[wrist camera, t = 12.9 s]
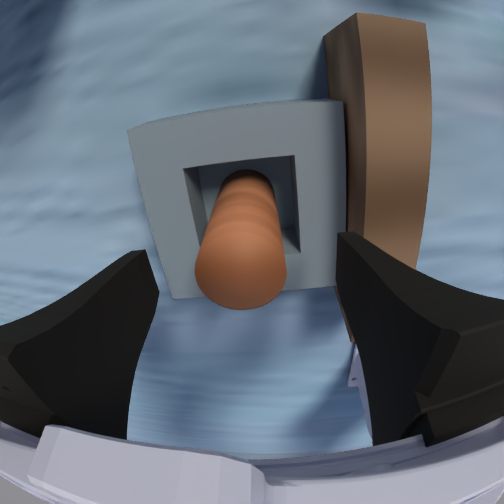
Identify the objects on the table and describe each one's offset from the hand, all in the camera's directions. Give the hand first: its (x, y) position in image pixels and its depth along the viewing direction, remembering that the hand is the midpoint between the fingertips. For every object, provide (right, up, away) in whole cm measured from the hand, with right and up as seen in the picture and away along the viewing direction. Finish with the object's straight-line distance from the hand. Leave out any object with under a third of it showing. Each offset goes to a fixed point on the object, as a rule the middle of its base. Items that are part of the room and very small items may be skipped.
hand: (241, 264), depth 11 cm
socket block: (0, +4, +7) cm, 8 cm away
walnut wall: (+7, +5, +6) cm, 10 cm away
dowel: (0, +4, +6) cm, 7 cm away
